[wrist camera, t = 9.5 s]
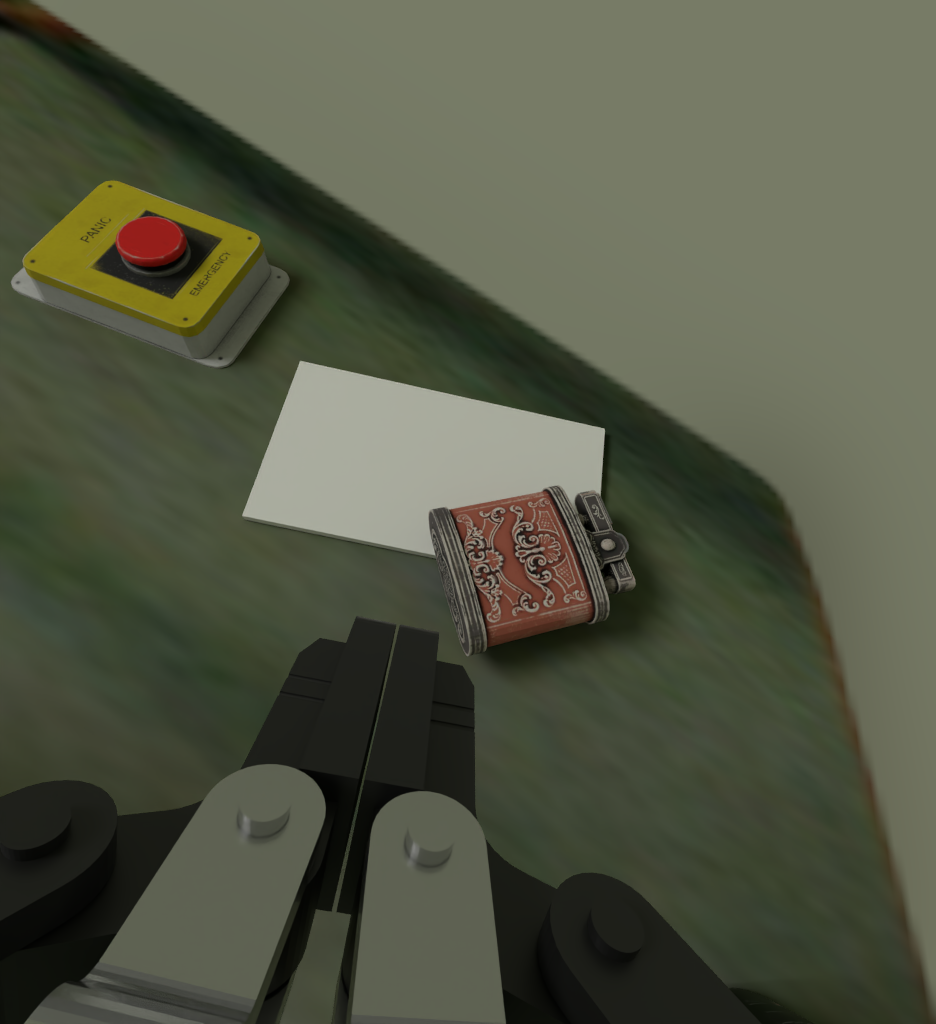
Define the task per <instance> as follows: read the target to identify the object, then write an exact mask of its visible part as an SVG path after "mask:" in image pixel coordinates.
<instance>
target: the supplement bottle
mask: <svg viewBox="0 0 936 1024" xmlns="http://www.w3.org/2000/svg"><path fill="white" fill-rule="evenodd" d="M729 989H730V990H731V992H732V993H733V994H734V995H735V996H736V997H737V998H738V999H739V1000H740V1001H741V1002H742V1003H743V1004H744V1005H745V1007H746V1008H747V1009H748V1010H749V1011H750V1012H751V1013H752V1014H753V1015H754V1016H755V1017H756V1018H757V1019H758V1020H759V1022H760V1023H761V1024H814V1023H812V1022H810V1021H809V1020H807V1019H805V1018H803V1017H801V1016H800V1015H798V1014H796V1013H794V1012H792V1011H791V1010H789V1009H787V1008H785V1007H783V1006H781V1005H780V1004H778V1003H776V1002H774V1001H772V1000H770V999H768V998H766V997H764V996H762V995H760V994H758V993H755V992H752V991H749V990H745V989H739V988H729Z"/></svg>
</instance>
